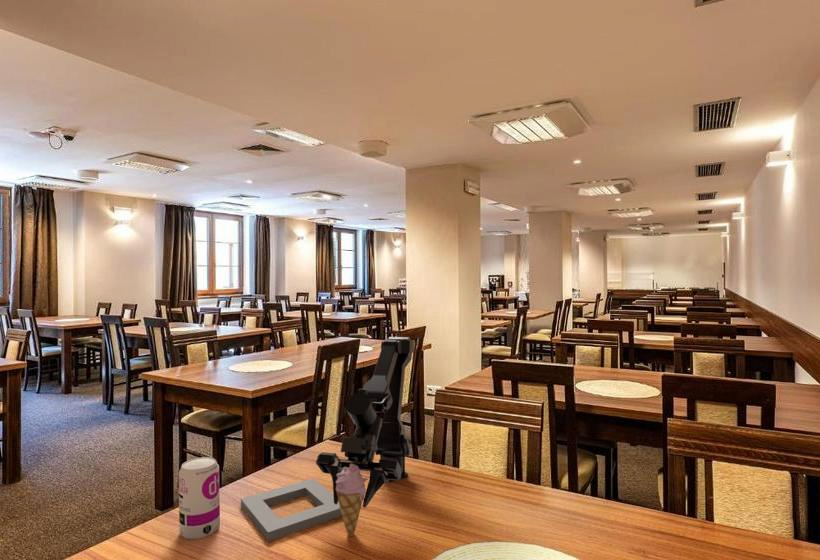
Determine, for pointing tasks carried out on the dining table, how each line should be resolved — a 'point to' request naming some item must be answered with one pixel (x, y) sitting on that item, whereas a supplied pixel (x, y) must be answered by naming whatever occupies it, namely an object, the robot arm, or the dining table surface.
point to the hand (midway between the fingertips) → (349, 505)
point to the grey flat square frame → (293, 523)
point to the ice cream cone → (350, 496)
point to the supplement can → (199, 498)
